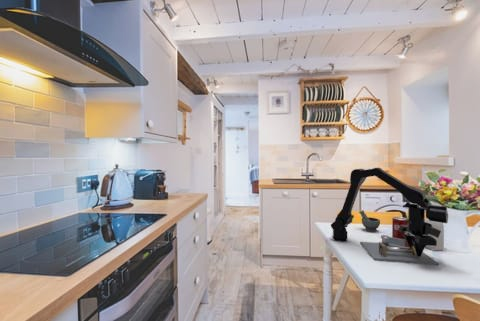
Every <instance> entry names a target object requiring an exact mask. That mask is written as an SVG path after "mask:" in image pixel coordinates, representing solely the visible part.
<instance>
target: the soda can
mask: <svg viewBox="0 0 480 321" xmlns="http://www.w3.org/2000/svg"><path fill="white" fill-rule="evenodd" d="M391 219H392V225H391V226H392V227H391V229H392V232H391V234H392V236H391V237H393V238H399V239H405V237H404V236H403V234H405V231H404V232H403V233H402V232H400V231H399V227H400V226H401V225H408V222H406V219H408V218H407V217H403V216H393V217H392V218H391ZM405 240H406V239H405Z"/></svg>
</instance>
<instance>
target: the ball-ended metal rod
mask: <svg viewBox="0 0 480 321" xmlns="http://www.w3.org/2000/svg"><path fill="white" fill-rule="evenodd" d="M380 238H381V242H382V243H383V244H384V245H389V244H394V245H399V246H404V247H409V245H408V243H407V241H406V240H405V239H399V238H393V237H392V236H389V235H386V234H381V235H380Z"/></svg>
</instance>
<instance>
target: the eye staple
mask: <svg viewBox="0 0 480 321" xmlns="http://www.w3.org/2000/svg"><path fill="white" fill-rule="evenodd" d="M378 243H379V253H381V249H382V247H383V257H386V246H385V245H384V244H383V243H382V241H379V242H378Z"/></svg>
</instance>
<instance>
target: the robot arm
mask: <svg viewBox="0 0 480 321" xmlns="http://www.w3.org/2000/svg"><path fill="white" fill-rule="evenodd" d="M369 177H376V178H378V179H380V180H381V181H382V182H384V183H386V184H387V185H388V186H390V187H391V188H393V189H394V190H396V191H398V192H399V193H400V194H401V195H402V196H403V197H404V198H405V199H406V200H407V202H405V204H403V205H402V207H403V208H407V209H408V210H407V211H408V213H407V214H408V216H407V217H408V218H407V219H406V222H408V225H401V226H400V227H399V231H400V232H402V233H403V232H404V231H405V234H403V236H404V237H405V239H406V241H407V243H408V245H409V247H410V248H411V246H412V245H414V248H415V251H416V254H417V256H418V257H421V255H422V252H424V250H425V249H426V248H425V246H427V245H430V246H437V241H436V240H435V239H434V238H433V237H431V236H426V235H428V234H430V235H433V236H435V237H437V238H438V237H439V235H440V233H441V231H440V230H438V229H436V228H434V227H432V224H429V223H427V222H425V218H427V219H429V221H435V222H441V223H443V224H448V221H449V213H448V206H446V205H436V204H433V205H432V203H431V202H430V201H429V200H428V198H427V194H426V192H425V191H424V190H422V189H420V188H418V187H415V186H412V185H409V184H407V183H406V182H403V181H401V180H399V179H398V178H397V177H395V176H394V175H392V174H391V173H389V172H387V171H385V170H384V169H383V168H381V167H373V168H369V169H364V168H355V169H353V170H351V172H350V176H349V178H350V179H349V182H350V184H349V189H348V191H347V194H346V197H345V199H344V203H343V204H342V205H343V206H342V209H341V210H340V211H339V212H338V214H337V216H336V217H335V220H334V222H332V223H331V224H330V228H331V229H332V235H331V237H332V239H333V241H339V242H348V231H347V227H348V226H349V225H350V224H351V223H353V220H354V217H355V215H354V214H352V211H353V208H354V205H355V201H356V198H357V196H358V193H359V190H360V188H361V187H362V185H363V184H364V182H365V181H366V180H367V178H369Z"/></svg>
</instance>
